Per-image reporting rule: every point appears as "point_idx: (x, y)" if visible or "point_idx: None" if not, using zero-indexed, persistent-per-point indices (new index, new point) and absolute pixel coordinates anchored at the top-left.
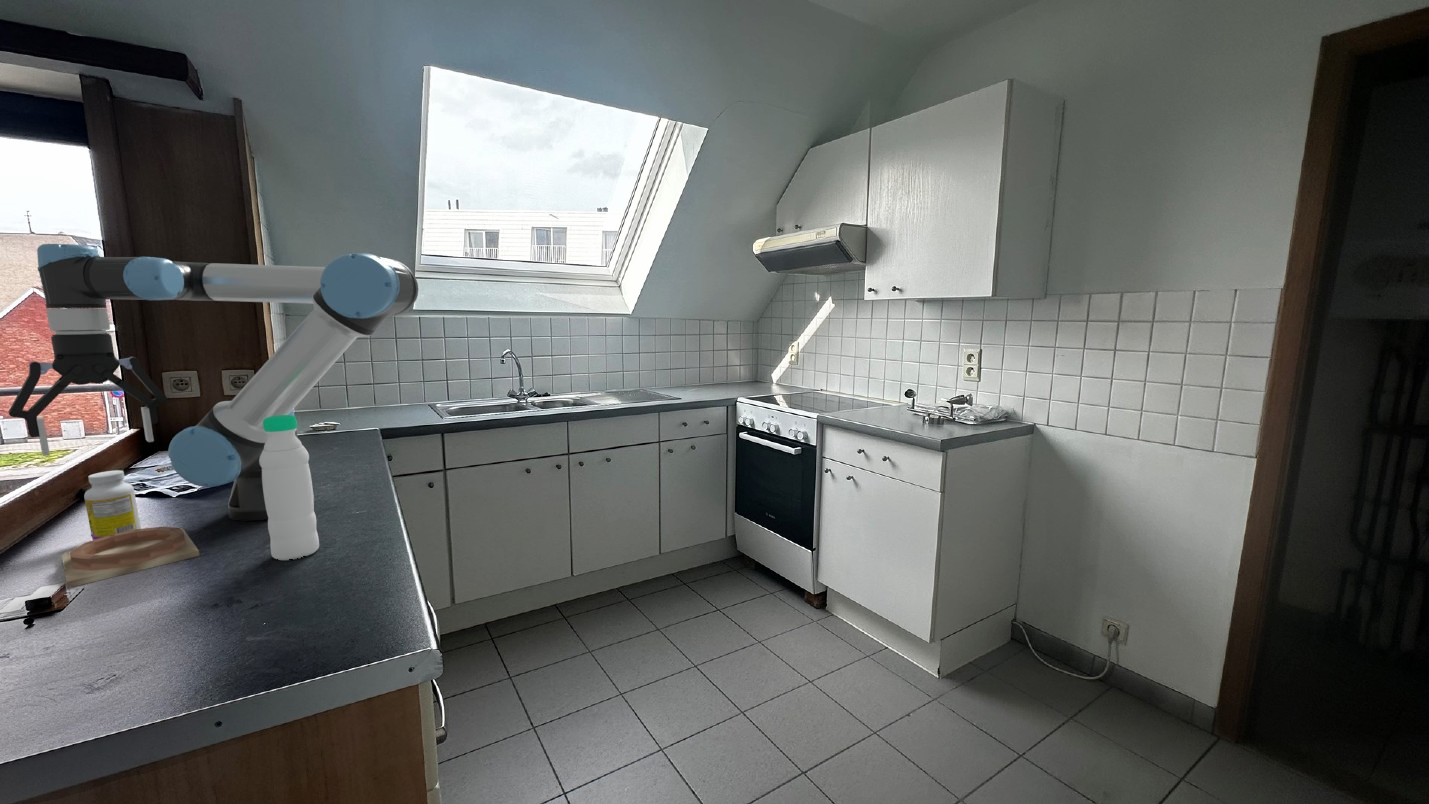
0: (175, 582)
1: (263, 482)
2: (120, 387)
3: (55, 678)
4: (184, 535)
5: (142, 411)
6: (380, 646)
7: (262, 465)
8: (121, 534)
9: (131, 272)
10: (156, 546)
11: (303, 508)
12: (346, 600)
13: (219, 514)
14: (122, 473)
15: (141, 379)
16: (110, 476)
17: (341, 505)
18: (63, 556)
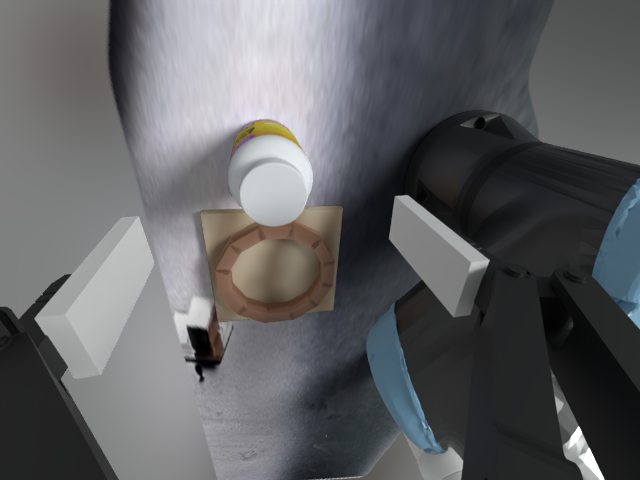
0: (299, 356)
1: (408, 440)
2: (465, 448)
3: (227, 444)
4: (336, 244)
5: (453, 276)
6: (354, 470)
7: (419, 468)
8: (272, 237)
9: None
10: (300, 315)
11: None
12: (369, 431)
13: (406, 134)
14: (303, 207)
15: (606, 477)
16: (280, 224)
17: None
18: (203, 225)
